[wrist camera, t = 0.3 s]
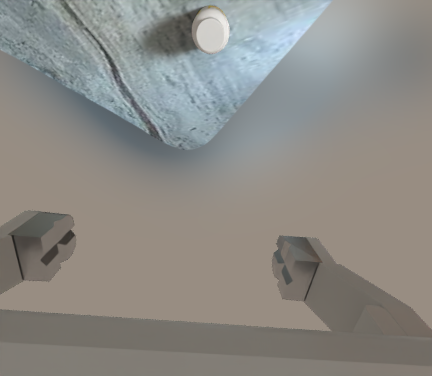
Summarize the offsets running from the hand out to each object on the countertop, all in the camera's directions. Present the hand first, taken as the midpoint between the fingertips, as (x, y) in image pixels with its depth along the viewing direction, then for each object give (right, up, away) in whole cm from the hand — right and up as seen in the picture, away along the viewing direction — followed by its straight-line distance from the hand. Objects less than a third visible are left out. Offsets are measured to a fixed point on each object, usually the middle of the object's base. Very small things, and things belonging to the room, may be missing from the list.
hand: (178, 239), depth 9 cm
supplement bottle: (+1, +35, +38) cm, 52 cm away
